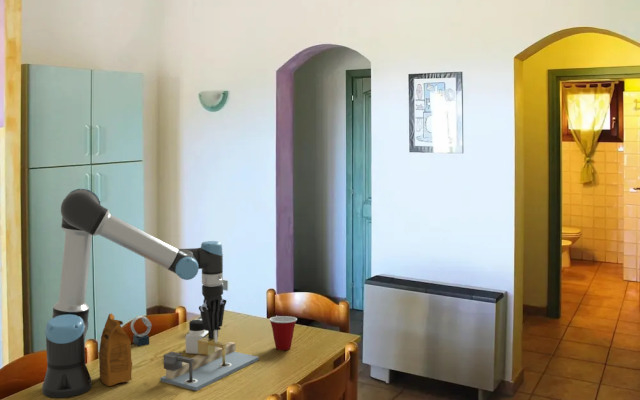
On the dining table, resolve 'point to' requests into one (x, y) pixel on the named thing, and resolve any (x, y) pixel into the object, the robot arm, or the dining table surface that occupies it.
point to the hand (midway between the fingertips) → (213, 347)
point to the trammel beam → (191, 361)
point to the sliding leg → (210, 347)
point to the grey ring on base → (142, 338)
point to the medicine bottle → (195, 335)
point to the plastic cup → (283, 331)
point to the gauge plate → (212, 371)
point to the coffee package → (114, 353)
